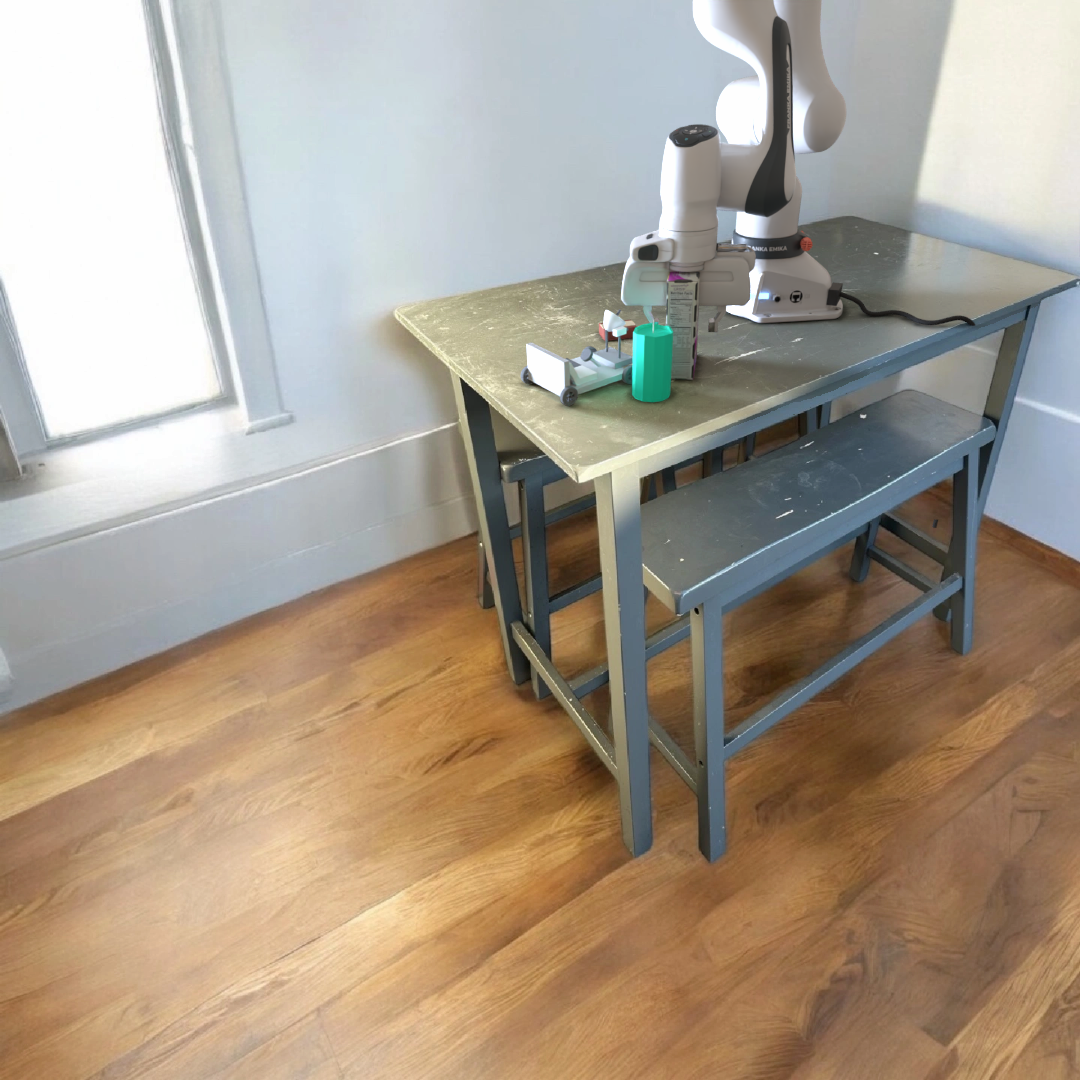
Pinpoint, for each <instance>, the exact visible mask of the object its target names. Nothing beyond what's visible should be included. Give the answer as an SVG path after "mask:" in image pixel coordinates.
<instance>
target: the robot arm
mask: <svg viewBox="0 0 1080 1080" xmlns="http://www.w3.org/2000/svg"><path fill="white" fill-rule="evenodd" d="M822 1H823V0H692V17H693V20H694V23H695V25H696V28H697V29H698V31H699V33H700V34H701V35H702V37H703V38H704V39H705V40H706V41H707V42H708V43H710V45H713V46H714V47H716V48H718V49H720V50H722V51H723V52H725V53H727V54H730V55H732V56H733V57H737V58H738V59H740V60H742V61H744V62H745V63H747V64H748V65H749V66H750V67H751V68H753V70H754V72H755V73H756V75H755V74H754V75H750V76H745V77H741V78H737V79H734V80H732V81H730V82H729V83H728V84H727V85H726V86H725V87H724V89H722V91H721V93H720V95H719V97H718V100H717V104H716V109H715V118H716V124H717V126H718V128H719V130H720V131H719V130H718V129H717V128H716V127H714V126H712V125H709V124H703V123H702V124H701V123H696V124H695V123H694V124H688V125H685V126H680V127H677V128H676V129H674V130H673V131H671V132H670V133H669V134H668V136H667V138H666V141H665V146H664V151H663V156H662V165H661V173H660V174H661V175H660V193H659V194H660V199H661V205H662V212H661V215H660V217H659V224H658V225H659V226H658V229H656V230H653V231H650V232H647V233H644V234H640V235H638V236H635V237H634V238H633V239H632V240H631V242H630V246H629V257H628V259H627V261H626V263H625V267H624V271H623V276H622V284H621V293H620V300H621V301H622V303H623V304H624V305H625V306H629V307H630V306H632V307H633V306H636V307H637V306H641V307H642V312H643V315H644V316H645V318H646V320H647V321H648V323H653V320H654V323H655V324H659V325H660V317H654V315H653V313H652V310H653V306H655V307H657V306H659V307H661V306H663V307H664V306H665V307H667V280H668V276H669V273H670V272H700V285H699V307H705V306H706V307H716V314H715V316H714V317H713V318H712V317H711V318H708V327H707V331H708V333H718V331H719V323H720V322H721V320H722V319H723V317H724V316H725V315H726V313H730V314H731V315H734V316H738V317H741V318H745V319H749V320H751V321H752V322H755V323H759V324H771V323H786V322H787V323H788V322H804V321H818V320H819V321H820V320H835V319H837V318H839V317H841V316H842V314H843V311H844V305H843V301H842V300H841V298H843V299H845V300H848V301H850V302H852V303H854V304H856V305H858V307H859V308H860V310H861V312H862V313H863V314H864V315H866V316H869V317H872V318H873V317H874V318H877V317H885V316H886V317H887V316H898V317H903V318H906V319H908V320H909V321H911V322H913V323H915V324H919V325H923V326H938V325H939V326H940V325H944V324H947V323H950V322H957V321H960V322H961V321H962V322H964V323H966V324H967V325H968V326H971V327H975V326H976V323H975V322H974V321H973V319H971V318H970V317H968V316H966V315H952V316H948V317H944V318H939V319H933V320H928V319H923V318H919V317H916V316H915V315H913V314H911V313H909V312H907V311H903V310H897V309H889V310H888V309H887V310H881V311H871V310H869V309H868V308H867V307H866V305H865V303H864V302H863V301H862V300H861V299H859V298H858V297H855V296H853V295H851V294H848V293H846V292H843V283H842V282H834V281H832V277H831V274H830V273H829V271H828V270H827V268H826V267H825V266H824V265H822V264H821V263H820V262H818V261H817V260H816V259H815V258H814V257H813V256H811V255H810V254H809V253H808V252H809V251H811V249H812V248H813V241H812V239H811V238H810V237H809V236H808V234H806V233H805V232H804V231H803V230H800V229H799V222H800V221H799V220H800V213H801V204H802V197H803V187H802V183H801V180H800V178H799V177H798V176H797V168H796V156H795V155H806V154H807V155H808V154H816V153H822V152H825V151H827V150H828V149H830V148H832V146H833V145H834V144H835V143H836V142H837V141H838V139H839V138H840V137H841V134H842V132H843V130H844V128H845V124H846V120H847V104H846V99H845V97H844V96H843V94H842V92H841V91H840V90H839V88H837V86H836V85H835V83H834V82H833V80H832V78H831V76H830V73H829V71H828V68H827V64H826V60H825V55H824V52H823V45H822V37H821V35H822V34H821V20H822V19H821V17H822ZM720 132H721V133H722V134H723V136H724V137H725V139H726V141H727V142H726V141H725V142H723V141H721V135H720ZM718 211H721V212H734V213H736V222H735V228H734V229H733V232H732V237H731V243H718V234H719V233H718V232H719V217H718ZM938 523H939V519H933V523H932V525H931V526H932V528H933V529H936V528H937V527H938Z"/></svg>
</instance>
